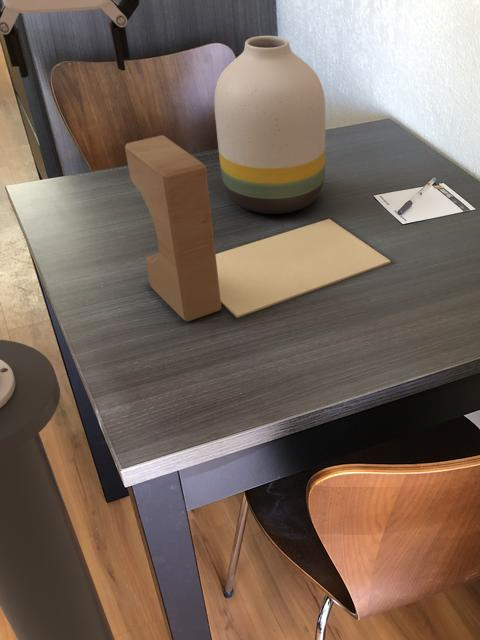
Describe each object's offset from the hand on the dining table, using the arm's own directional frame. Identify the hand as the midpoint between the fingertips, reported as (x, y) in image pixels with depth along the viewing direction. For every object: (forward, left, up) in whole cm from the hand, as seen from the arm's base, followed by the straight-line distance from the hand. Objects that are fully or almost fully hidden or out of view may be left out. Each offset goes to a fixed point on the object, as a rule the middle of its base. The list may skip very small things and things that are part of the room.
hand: (73, 70), depth 76 cm
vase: (+34, +18, -30) cm, 49 cm away
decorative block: (+8, -1, -31) cm, 32 cm away
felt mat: (+25, 0, -30) cm, 39 cm away
